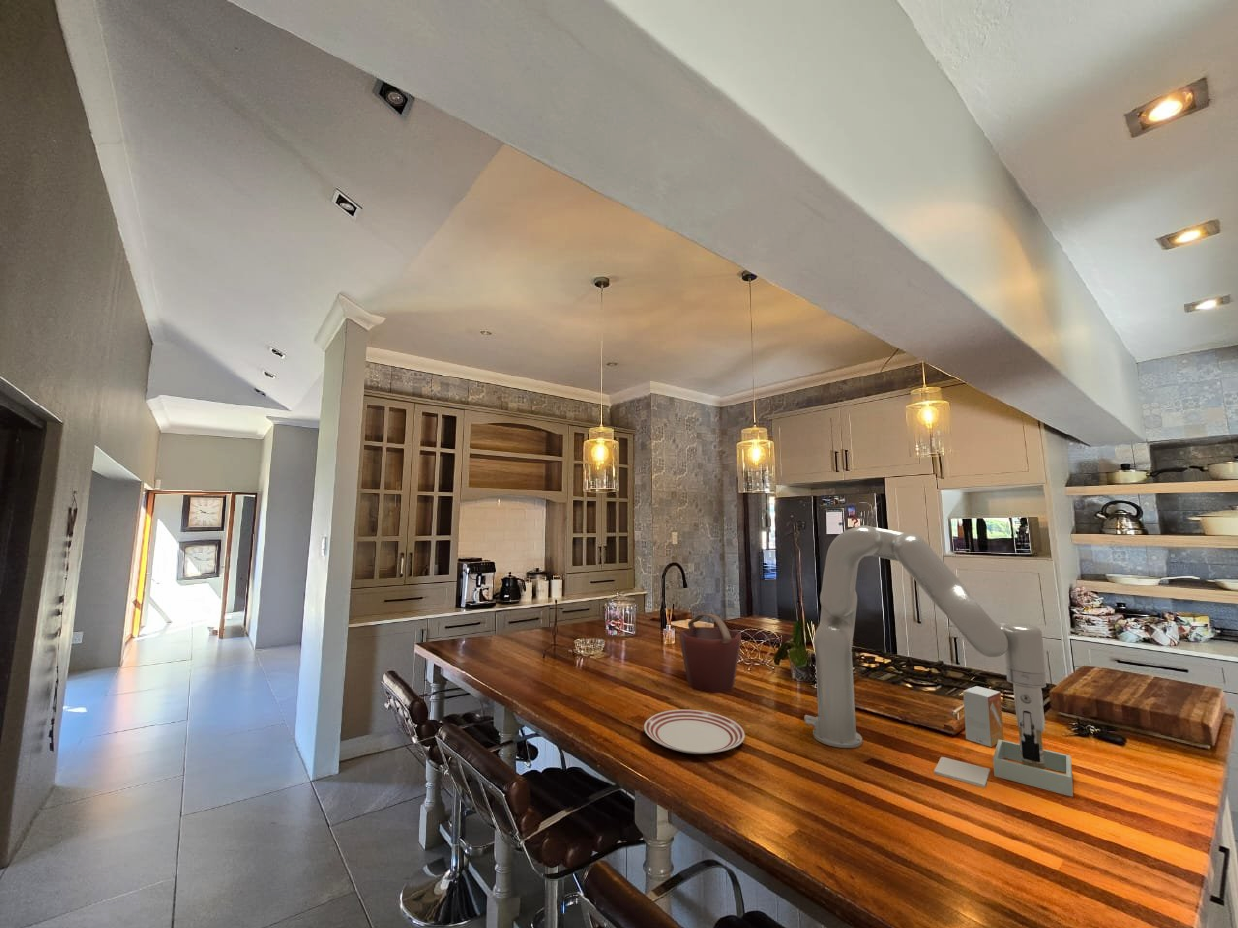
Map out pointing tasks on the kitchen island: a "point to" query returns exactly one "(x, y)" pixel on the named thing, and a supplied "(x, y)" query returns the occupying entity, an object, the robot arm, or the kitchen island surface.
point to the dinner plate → (694, 731)
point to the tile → (962, 771)
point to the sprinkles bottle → (1039, 741)
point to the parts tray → (1034, 769)
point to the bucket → (710, 655)
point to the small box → (983, 715)
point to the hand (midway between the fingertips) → (1031, 755)
